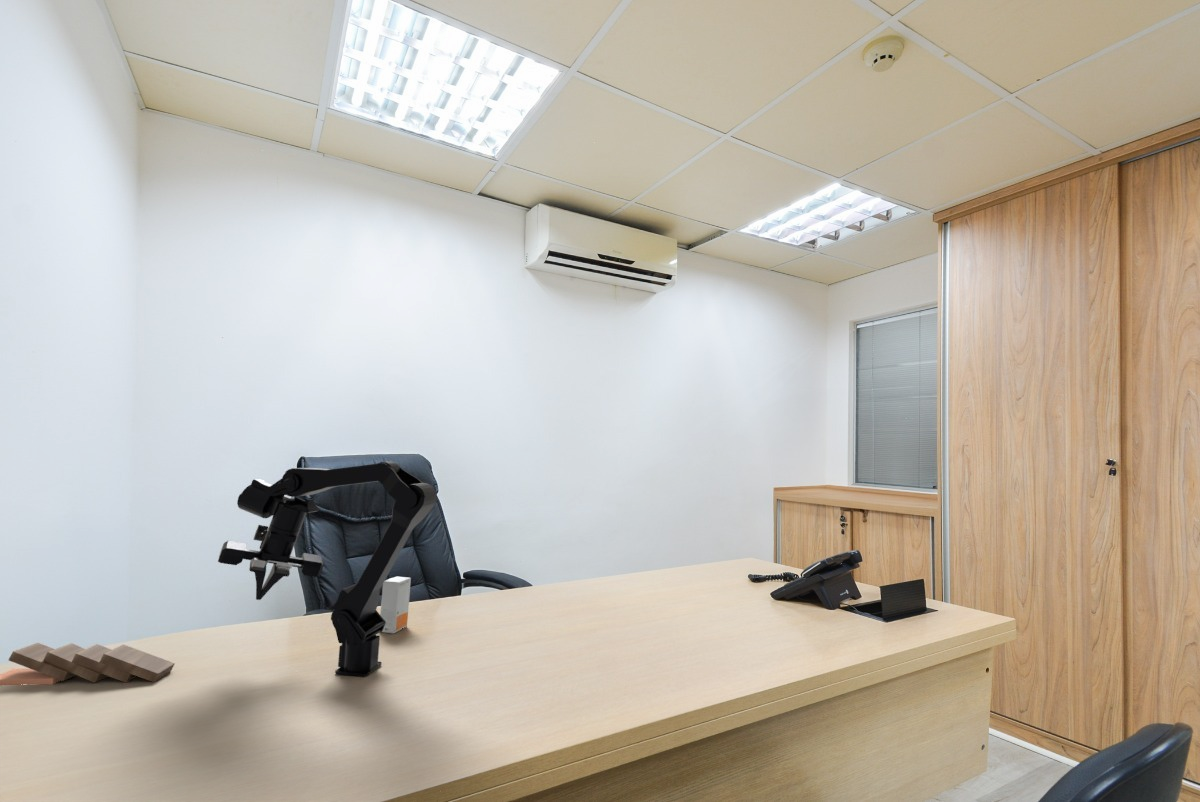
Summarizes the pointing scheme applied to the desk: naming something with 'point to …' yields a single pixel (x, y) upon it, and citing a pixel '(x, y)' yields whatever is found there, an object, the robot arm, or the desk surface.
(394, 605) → the skincare box
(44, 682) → the domino
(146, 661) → the domino
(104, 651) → the domino
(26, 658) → the domino
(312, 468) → the robot arm
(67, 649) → the domino
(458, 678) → the desk surface
